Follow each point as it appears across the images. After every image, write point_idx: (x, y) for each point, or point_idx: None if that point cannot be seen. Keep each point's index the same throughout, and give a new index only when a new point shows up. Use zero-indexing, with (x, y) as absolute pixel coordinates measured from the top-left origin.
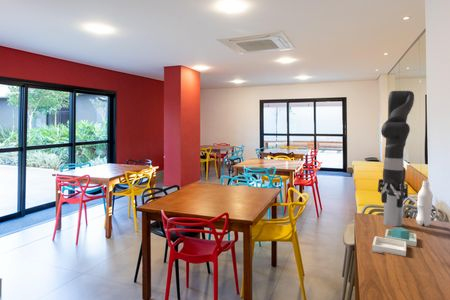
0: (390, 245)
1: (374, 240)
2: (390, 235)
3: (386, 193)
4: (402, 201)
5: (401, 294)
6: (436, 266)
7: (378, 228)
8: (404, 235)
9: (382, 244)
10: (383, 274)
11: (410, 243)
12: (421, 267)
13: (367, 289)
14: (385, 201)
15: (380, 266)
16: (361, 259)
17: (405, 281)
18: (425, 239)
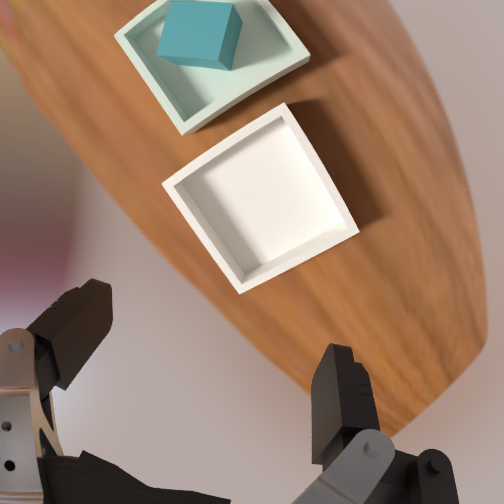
0: (243, 164)
1: (204, 240)
2: (151, 43)
3: (35, 353)
4: (373, 417)
5: (424, 407)
6: (447, 193)
7: (69, 18)
8: (229, 41)
9: (218, 188)
10: None
11: (286, 70)
12: (421, 251)
13: None
14: (102, 303)
15: None
16: (275, 360)
17: (417, 366)
18: None
